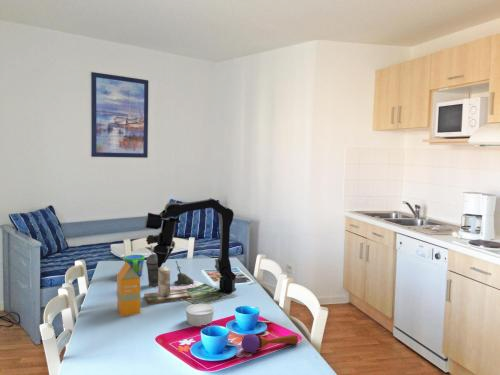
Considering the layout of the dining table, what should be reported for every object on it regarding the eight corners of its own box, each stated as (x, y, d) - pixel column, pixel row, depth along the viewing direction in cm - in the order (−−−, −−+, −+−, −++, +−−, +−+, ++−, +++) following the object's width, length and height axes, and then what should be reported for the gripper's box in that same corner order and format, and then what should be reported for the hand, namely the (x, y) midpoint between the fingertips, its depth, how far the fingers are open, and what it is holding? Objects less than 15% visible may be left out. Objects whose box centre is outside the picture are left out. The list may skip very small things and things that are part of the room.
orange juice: (121, 316, 169) (120, 267, 168) (117, 309, 177) (116, 261, 176) (140, 313, 173) (140, 264, 171) (136, 306, 181) (135, 259, 179)
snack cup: (125, 272, 231) (124, 253, 230) (145, 271, 234) (145, 252, 233) (123, 280, 216) (122, 260, 215) (144, 279, 218) (144, 259, 217)
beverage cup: (157, 288, 204) (157, 247, 202) (143, 287, 206) (143, 246, 204) (163, 283, 211) (163, 244, 210) (150, 282, 213) (149, 243, 211)
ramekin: (202, 330, 157) (202, 316, 157) (179, 323, 163) (179, 310, 163) (220, 320, 167) (220, 307, 166) (197, 314, 173) (197, 301, 172)
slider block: (167, 291, 194) (167, 267, 193) (171, 296, 187) (171, 271, 186) (158, 292, 192) (158, 267, 192) (162, 297, 185) (161, 272, 184)
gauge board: (185, 292, 200) (185, 288, 199) (191, 298, 190) (191, 294, 190) (144, 297, 192) (144, 292, 192) (148, 304, 183) (148, 300, 183)
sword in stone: (193, 280, 218) (193, 257, 217) (194, 285, 211) (194, 262, 209) (173, 281, 216) (173, 258, 215) (174, 286, 209) (174, 263, 207)
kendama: (301, 336, 144) (246, 341, 137) (297, 351, 146) (244, 357, 138) (293, 326, 150) (240, 330, 142) (290, 341, 151) (237, 346, 143)
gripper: (154, 225, 200) (148, 257, 200) (145, 230, 181) (138, 265, 182) (178, 229, 200) (171, 262, 200) (170, 235, 181) (163, 270, 182)
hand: (161, 265), depth 191 cm, fingers open, 9 cm apart
